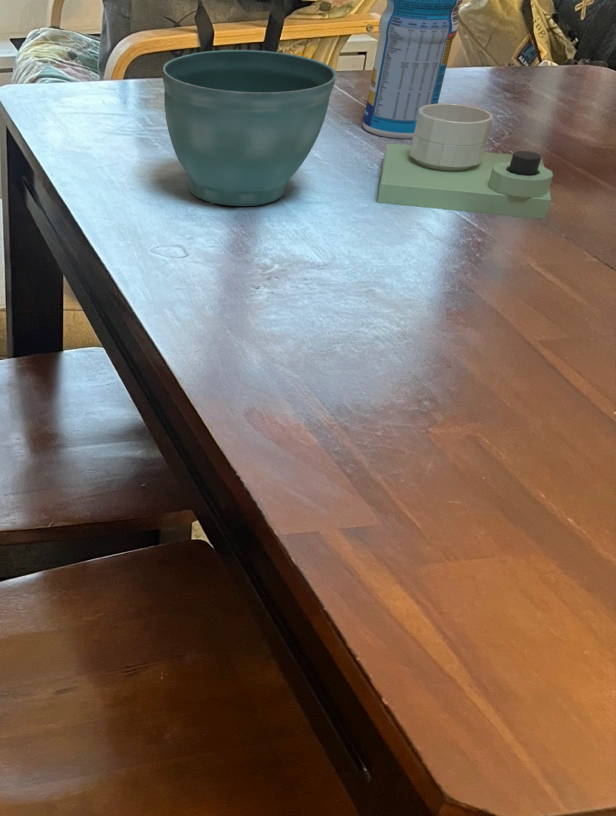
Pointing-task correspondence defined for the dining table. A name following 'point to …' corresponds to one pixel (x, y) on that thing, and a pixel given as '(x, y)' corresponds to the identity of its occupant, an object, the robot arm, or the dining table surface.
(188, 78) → the flower pot
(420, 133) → the bowl
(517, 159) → the button
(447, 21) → the beverage bottle
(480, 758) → the dining table surface
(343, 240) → the dining table surface
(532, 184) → the pale green flat block
